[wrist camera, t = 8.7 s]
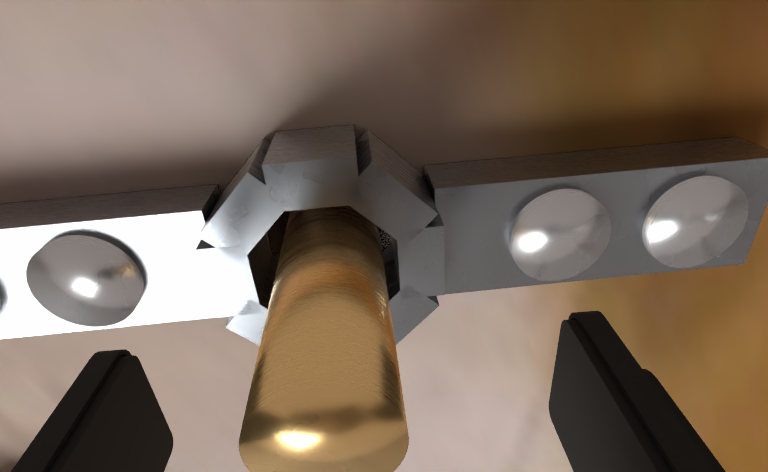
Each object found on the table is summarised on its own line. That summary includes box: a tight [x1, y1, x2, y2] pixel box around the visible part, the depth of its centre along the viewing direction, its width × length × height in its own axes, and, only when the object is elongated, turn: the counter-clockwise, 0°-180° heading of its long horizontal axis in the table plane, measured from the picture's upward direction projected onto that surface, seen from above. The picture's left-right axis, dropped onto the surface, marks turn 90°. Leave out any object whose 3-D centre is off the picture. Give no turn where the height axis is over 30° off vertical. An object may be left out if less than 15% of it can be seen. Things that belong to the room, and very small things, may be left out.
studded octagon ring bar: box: [0, 125, 768, 346], centre depth 15 cm, size 29×7×3 cm, turn 94°
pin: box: [239, 205, 409, 472], centre depth 13 cm, size 3×3×9 cm
